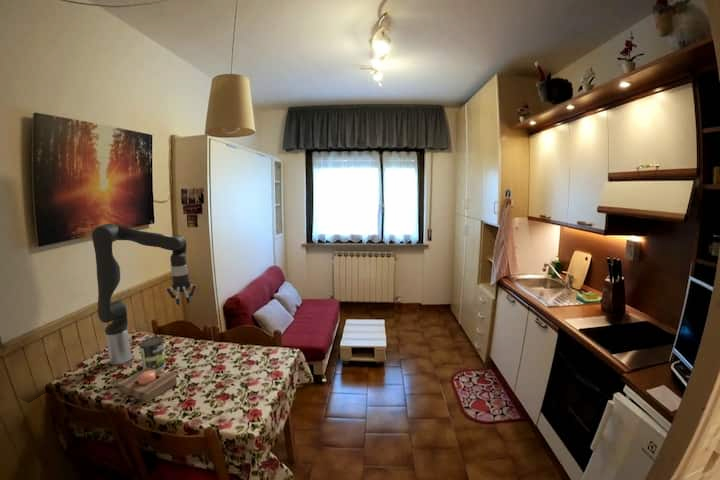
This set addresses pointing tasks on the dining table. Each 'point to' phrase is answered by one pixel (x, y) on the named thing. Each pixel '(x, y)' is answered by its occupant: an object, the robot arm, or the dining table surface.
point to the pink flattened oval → (146, 378)
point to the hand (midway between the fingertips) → (183, 304)
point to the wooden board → (149, 391)
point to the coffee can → (152, 353)
